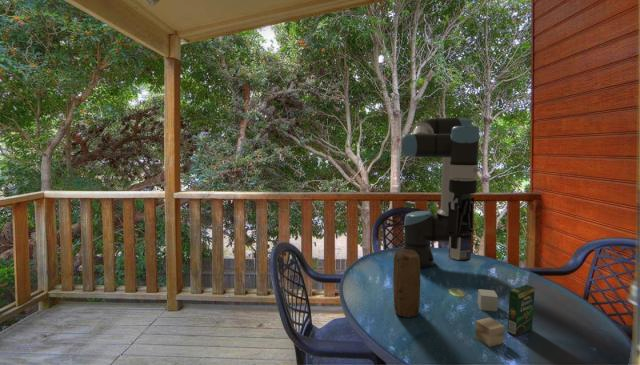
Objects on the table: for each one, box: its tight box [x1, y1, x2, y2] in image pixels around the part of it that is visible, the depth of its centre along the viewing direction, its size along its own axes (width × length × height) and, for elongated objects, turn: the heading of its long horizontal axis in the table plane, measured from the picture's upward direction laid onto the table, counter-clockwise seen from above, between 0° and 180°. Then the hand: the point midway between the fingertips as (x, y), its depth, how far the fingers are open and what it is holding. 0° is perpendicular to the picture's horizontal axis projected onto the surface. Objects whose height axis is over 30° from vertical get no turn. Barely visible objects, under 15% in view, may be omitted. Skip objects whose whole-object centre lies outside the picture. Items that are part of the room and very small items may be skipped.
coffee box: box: [507, 284, 536, 338], centre depth 99 cm, size 8×3×13 cm, turn 118°
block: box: [392, 248, 421, 318], centre depth 111 cm, size 11×8×20 cm
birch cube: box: [474, 317, 505, 348], centre depth 95 cm, size 5×5×5 cm
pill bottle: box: [448, 221, 473, 263], centre depth 102 cm, size 6×6×11 cm
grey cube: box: [477, 288, 499, 312], centre depth 114 cm, size 5×5×5 cm
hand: (459, 255), depth 103 cm, fingers closed on pill bottle, 6 cm apart
